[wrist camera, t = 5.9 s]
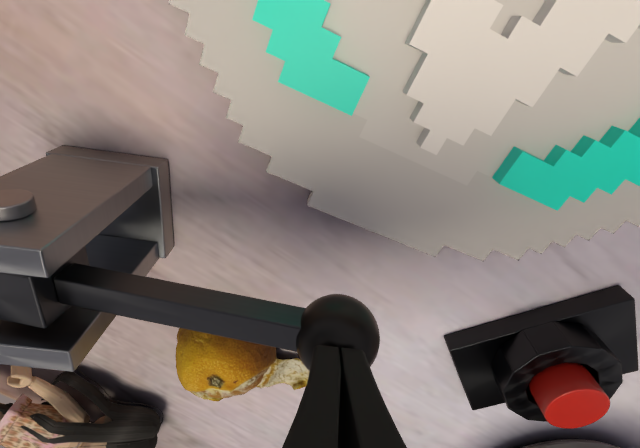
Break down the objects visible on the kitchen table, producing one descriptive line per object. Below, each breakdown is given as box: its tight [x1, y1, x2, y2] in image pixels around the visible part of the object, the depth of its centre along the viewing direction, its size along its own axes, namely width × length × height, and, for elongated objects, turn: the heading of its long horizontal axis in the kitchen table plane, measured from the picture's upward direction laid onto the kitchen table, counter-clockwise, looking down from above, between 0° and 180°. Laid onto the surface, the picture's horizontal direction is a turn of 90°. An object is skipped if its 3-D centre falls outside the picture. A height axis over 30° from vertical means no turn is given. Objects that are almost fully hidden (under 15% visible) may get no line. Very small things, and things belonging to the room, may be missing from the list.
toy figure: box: [0, 365, 163, 448], centre depth 23 cm, size 7×6×15 cm
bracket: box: [0, 145, 174, 372], centre depth 15 cm, size 5×6×8 cm
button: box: [529, 363, 610, 428], centre depth 19 cm, size 3×3×2 cm
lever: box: [0, 246, 380, 371], centre depth 12 cm, size 14×3×3 cm, turn 82°
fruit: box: [176, 328, 310, 401], centre depth 22 cm, size 8×8×4 cm
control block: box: [444, 286, 638, 422], centre depth 21 cm, size 10×6×3 cm, turn 114°
